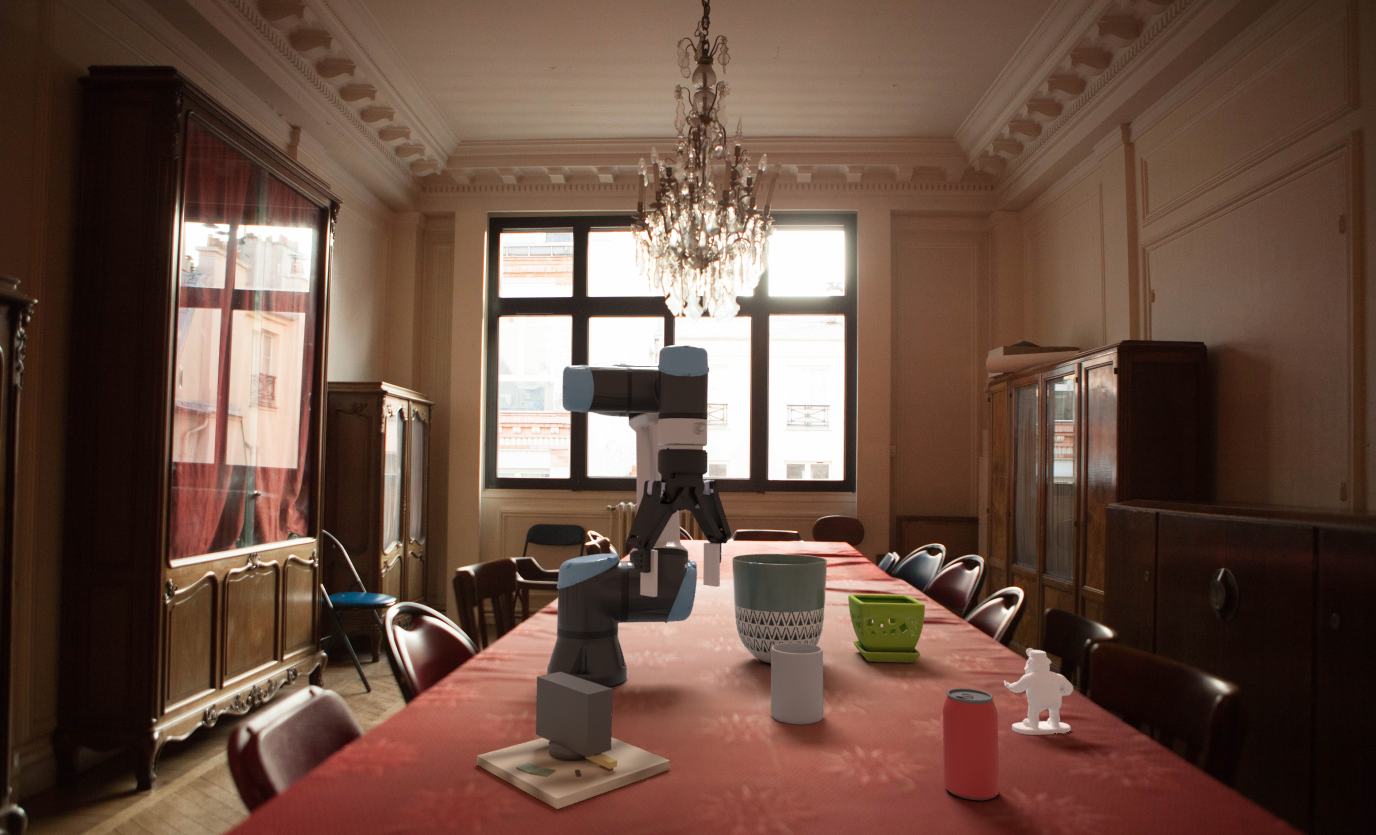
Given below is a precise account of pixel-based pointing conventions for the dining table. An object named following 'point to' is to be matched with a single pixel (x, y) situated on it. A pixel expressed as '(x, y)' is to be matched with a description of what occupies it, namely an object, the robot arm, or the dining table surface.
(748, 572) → the planter
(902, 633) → the flower pot
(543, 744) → the board
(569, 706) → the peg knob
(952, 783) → the beer can
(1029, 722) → the figurine
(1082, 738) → the dining table surface
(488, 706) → the dining table surface
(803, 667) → the mug
